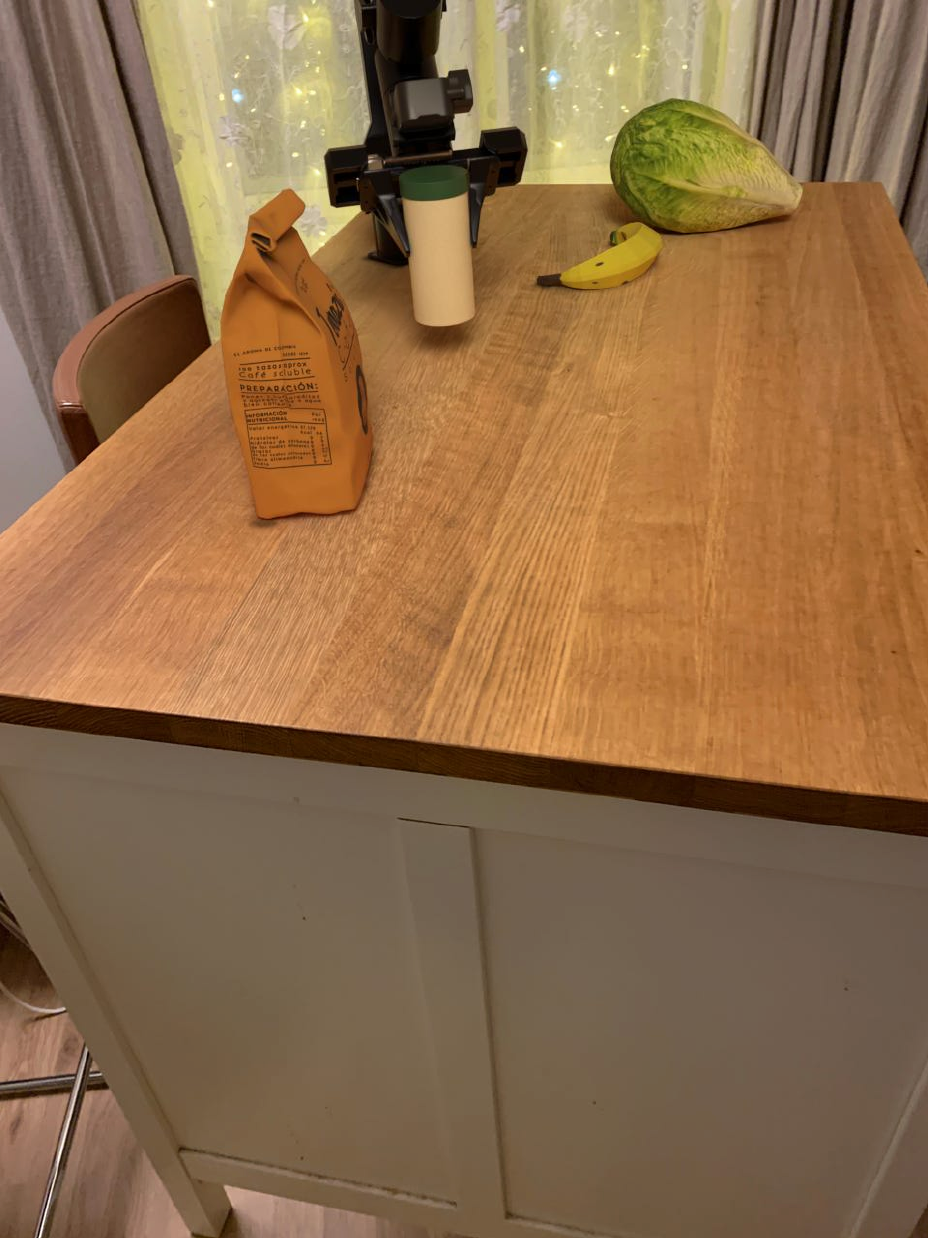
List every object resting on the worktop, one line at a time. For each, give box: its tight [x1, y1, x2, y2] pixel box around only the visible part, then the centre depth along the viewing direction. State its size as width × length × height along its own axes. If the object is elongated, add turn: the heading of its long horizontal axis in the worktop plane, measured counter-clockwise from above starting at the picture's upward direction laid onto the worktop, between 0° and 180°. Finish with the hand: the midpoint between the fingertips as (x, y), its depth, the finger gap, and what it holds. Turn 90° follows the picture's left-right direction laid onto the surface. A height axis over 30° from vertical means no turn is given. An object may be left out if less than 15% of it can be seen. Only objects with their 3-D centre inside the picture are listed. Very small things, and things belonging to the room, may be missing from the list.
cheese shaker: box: [399, 165, 476, 327], centre depth 92 cm, size 6×6×13 cm
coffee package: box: [219, 188, 374, 520], centre depth 74 cm, size 10×12×22 cm
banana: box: [535, 221, 664, 290], centre depth 117 cm, size 5×17×15 cm
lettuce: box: [609, 97, 804, 234], centre depth 124 cm, size 15×25×16 cm
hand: (441, 250), depth 91 cm, fingers closed on cheese shaker, 6 cm apart
